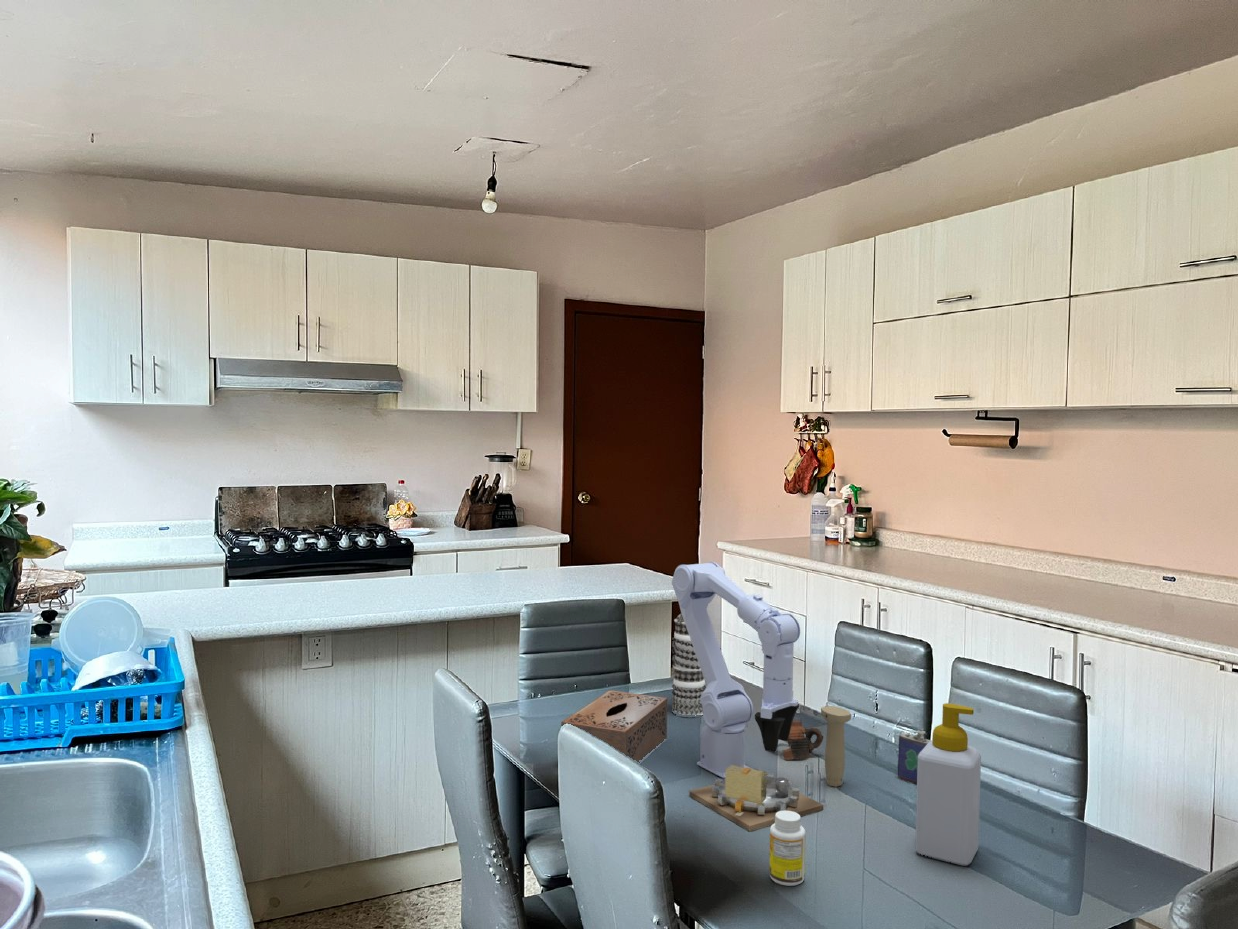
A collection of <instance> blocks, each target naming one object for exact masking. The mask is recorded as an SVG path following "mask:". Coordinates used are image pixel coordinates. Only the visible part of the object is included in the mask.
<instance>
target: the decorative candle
mask: <svg viewBox="0 0 1238 929" xmlns="http://www.w3.org/2000/svg"><path fill="white" fill-rule="evenodd" d="M673 621H674V623H675V626H674V628H675V631H674V633H673V634H674V635H673V636H674V637H672V638H671V639H672V640H673V641H672V642H671V647H672V649H671V653H672V658H671V660H672V664H671V665H672V668H673V669H674V675H673V676H674V677H673V684H672V685H671V687H672V689H673V690H672V691H671V694H672V695H673V696H672V698H671V702H672V703H671V708H672V710H673V709H674V710H675V712H677V713H679V714H682V715H695V716H696V715H703V712H702V703H701V700H700V697H701V695H702V693H703V692H704V690H705V689H706V687H707V685H706V683H705V680H704V677H703V674H702V671H701V668H700V665H699V662H698V659H697V657H696V654H695V651H694V648H693V645H692V642H691V639H690V636H689V633H688V631H687V628H686V625H685V622H684V619H683V616H682V613H680V614H679V615H677V617H676V618H674V620H673Z"/></svg>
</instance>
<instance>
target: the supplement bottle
mask: <svg viewBox="0 0 1238 929" xmlns="http://www.w3.org/2000/svg"><path fill="white" fill-rule="evenodd" d="M801 817H802V816H801ZM801 817H800V815H799V814H798V813H796V812H793V811H779V812H777V813H776V814H775V823H774V824H773V825H770V828H769V877H770V878H771V880H772V881H774V883H776V884H779V885H782V886H787V887H790V886H791V887H792V886H798V885H800V884H801V883H803V881H805V877H806V876H805V875H806V868H805V867H806V829H805V828H804V827H803V826H802V822H801Z"/></svg>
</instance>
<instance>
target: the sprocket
mask: <svg viewBox="0 0 1238 929" xmlns="http://www.w3.org/2000/svg"><path fill="white" fill-rule="evenodd" d="M714 785H715V786H712V796H714V797H718V803H719V804H720V805H726V804H728V805H730V806H733V807H735V811H738V812H742V811H743V810H748V811H757V813H758V814H760V815H764V814H765V812H767V811H778V812H779V811H786V807H788V806H793V807H796V806H797V805H798V798H799V793H800V789H799V788H796V787H795V788H794V787H792V781H790V780H789V779H788V778H786V777H776V778H775V774H770V773H768V774H767V783H766V799H765V800H764V801H763V803H762V804H757V803H753V802H748V801H743V800H739V799H734V798H729V797H725V778H719V777H717V778H716V779H715V780H714Z"/></svg>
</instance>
